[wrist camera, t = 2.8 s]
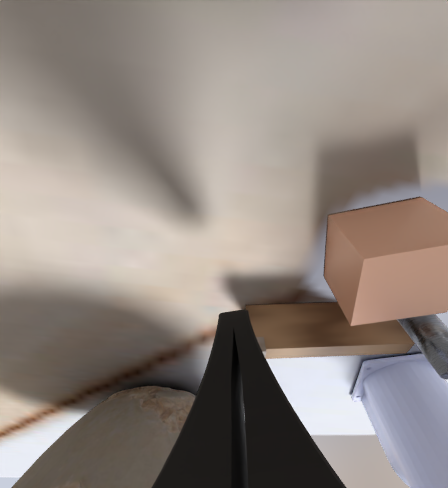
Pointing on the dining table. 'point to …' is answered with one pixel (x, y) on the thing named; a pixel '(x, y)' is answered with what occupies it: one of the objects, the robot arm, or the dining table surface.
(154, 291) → the dining table surface
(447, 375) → the grey blocks
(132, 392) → the ceramic bowl
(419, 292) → the block
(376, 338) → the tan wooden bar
